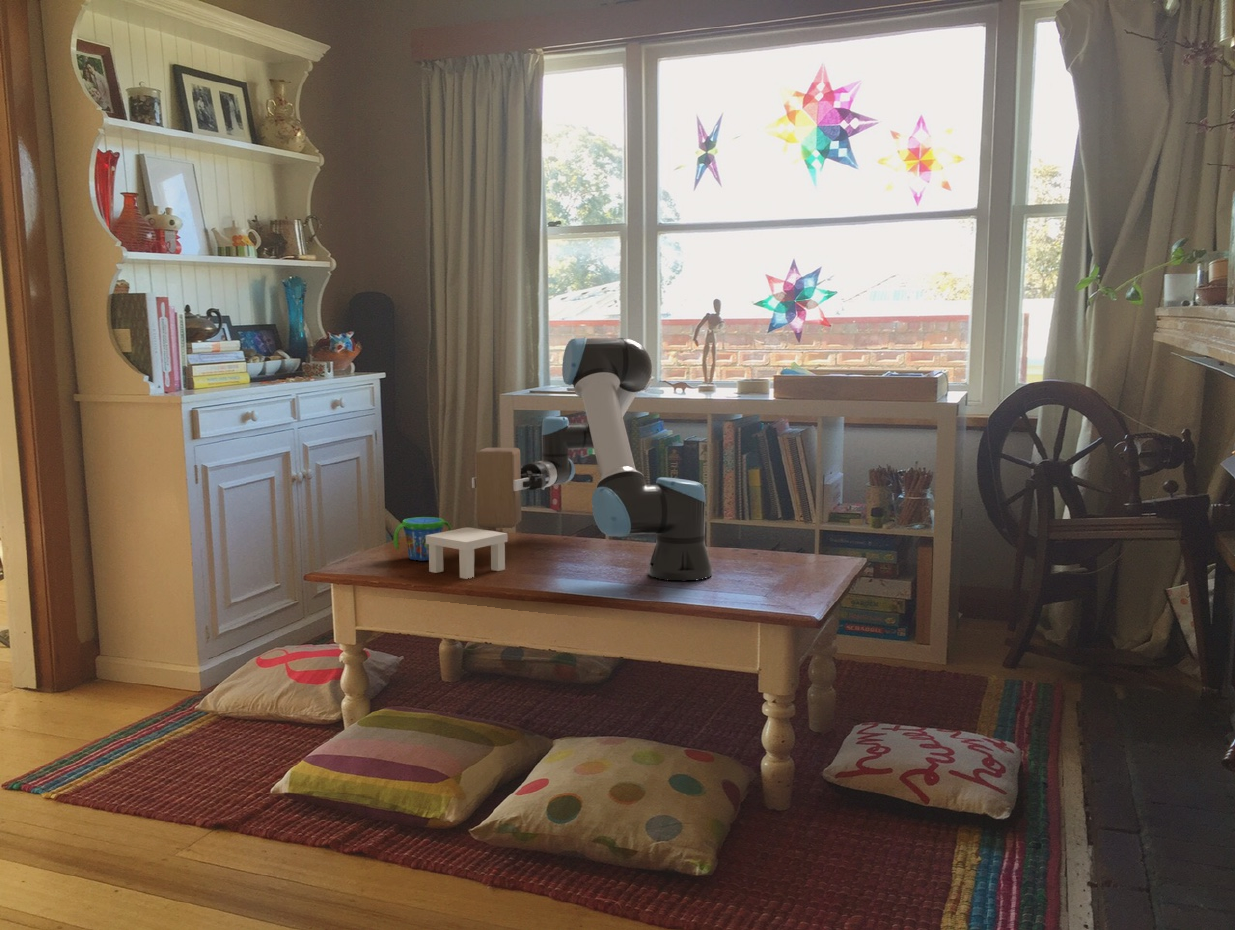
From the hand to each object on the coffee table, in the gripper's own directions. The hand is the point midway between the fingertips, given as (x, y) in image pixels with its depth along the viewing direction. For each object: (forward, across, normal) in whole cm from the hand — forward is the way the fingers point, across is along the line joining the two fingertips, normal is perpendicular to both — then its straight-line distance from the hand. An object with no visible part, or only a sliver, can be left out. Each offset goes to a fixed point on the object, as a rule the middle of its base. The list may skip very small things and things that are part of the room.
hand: (493, 484), depth 265 cm
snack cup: (+10, +15, -19) cm, 26 cm away
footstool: (+17, -3, -19) cm, 26 cm away
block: (-3, 0, -11) cm, 11 cm away
